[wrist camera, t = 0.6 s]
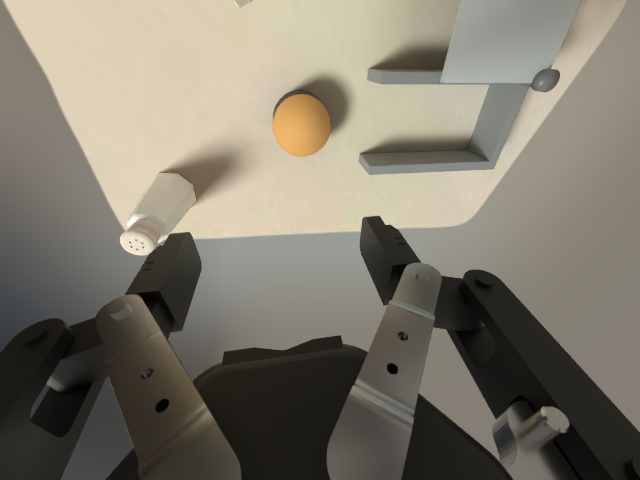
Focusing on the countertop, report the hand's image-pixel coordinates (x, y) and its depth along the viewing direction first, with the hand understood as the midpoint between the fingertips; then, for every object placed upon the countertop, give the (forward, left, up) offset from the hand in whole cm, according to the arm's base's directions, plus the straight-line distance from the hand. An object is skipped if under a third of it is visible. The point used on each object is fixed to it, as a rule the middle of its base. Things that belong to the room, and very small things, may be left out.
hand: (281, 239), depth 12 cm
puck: (-1, +3, -22) cm, 22 cm away
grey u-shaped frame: (-1, +18, -22) cm, 28 cm away
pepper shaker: (+7, -13, -22) cm, 27 cm away
